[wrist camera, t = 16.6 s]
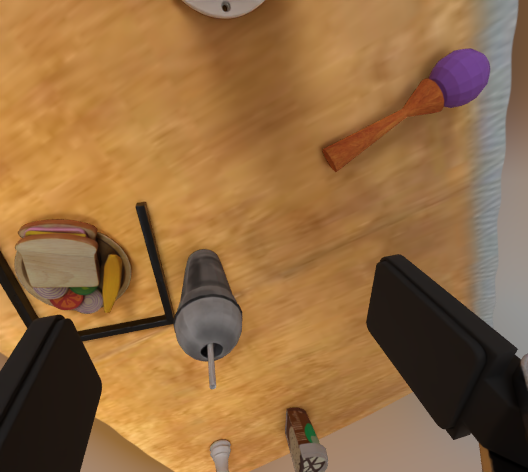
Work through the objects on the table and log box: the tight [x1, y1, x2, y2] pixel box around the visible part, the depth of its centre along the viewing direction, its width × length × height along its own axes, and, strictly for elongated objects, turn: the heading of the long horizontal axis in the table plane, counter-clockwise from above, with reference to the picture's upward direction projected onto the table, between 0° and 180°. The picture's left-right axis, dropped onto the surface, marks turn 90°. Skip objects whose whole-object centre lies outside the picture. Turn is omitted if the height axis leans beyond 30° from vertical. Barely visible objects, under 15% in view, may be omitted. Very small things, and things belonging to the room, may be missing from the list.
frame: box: [0, 202, 175, 342], centre depth 37 cm, size 19×18×1 cm
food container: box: [285, 408, 328, 472], centre depth 61 cm, size 12×6×10 cm, turn 1°
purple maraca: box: [323, 49, 490, 172], centre depth 35 cm, size 6×6×20 cm
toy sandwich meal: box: [15, 219, 131, 314], centre depth 34 cm, size 12×14×5 cm
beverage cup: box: [173, 249, 242, 389], centre depth 32 cm, size 7×7×20 cm
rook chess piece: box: [210, 440, 231, 472], centre depth 59 cm, size 4×4×8 cm
